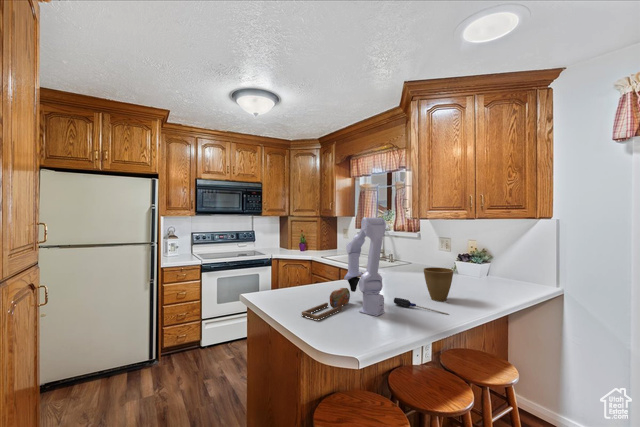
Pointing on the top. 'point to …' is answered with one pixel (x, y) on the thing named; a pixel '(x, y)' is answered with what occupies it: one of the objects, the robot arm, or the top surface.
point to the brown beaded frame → (308, 313)
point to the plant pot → (438, 282)
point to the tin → (339, 297)
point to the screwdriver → (411, 304)
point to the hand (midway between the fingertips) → (353, 291)
